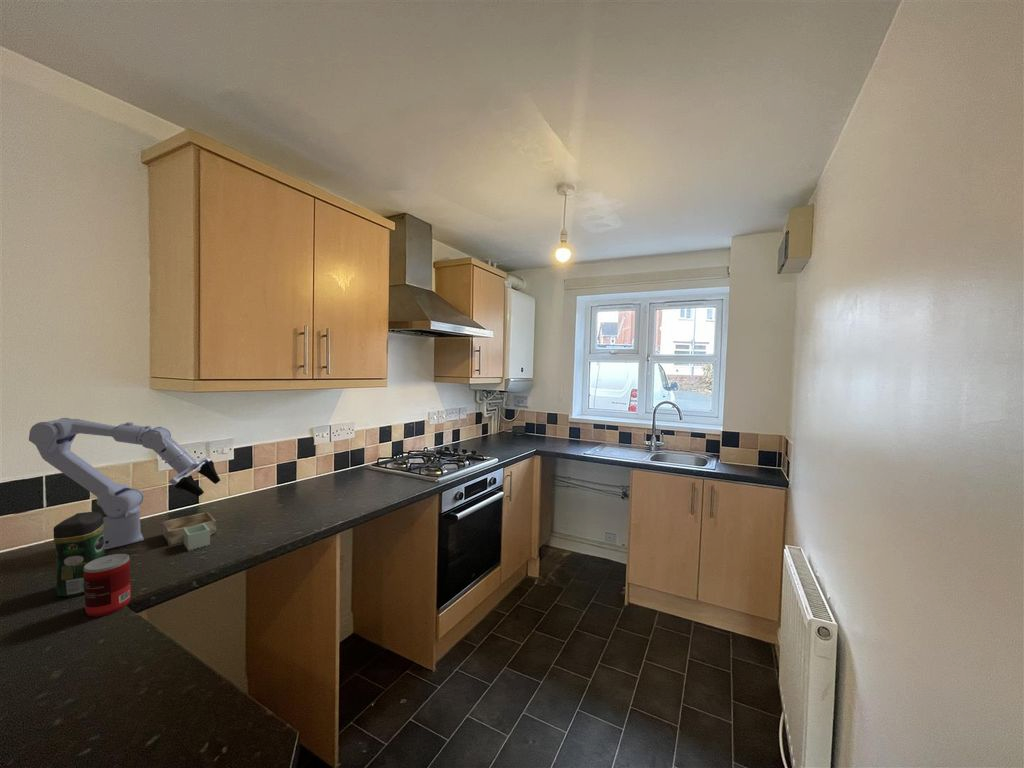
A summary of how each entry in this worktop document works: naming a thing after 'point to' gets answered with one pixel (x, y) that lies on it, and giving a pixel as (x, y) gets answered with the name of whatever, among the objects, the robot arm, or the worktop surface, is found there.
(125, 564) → the canned food
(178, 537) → the box
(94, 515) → the coffee jar
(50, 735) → the worktop surface
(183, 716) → the worktop surface
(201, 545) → the box
